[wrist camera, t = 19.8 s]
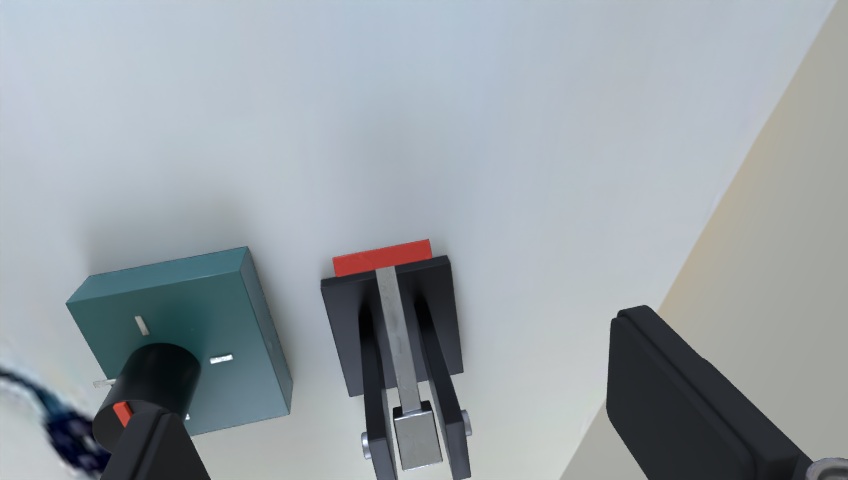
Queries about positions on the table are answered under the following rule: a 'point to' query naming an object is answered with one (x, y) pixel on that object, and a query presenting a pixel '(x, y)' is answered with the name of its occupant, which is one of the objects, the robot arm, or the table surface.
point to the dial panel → (193, 332)
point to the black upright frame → (372, 362)
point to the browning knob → (147, 389)
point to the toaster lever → (400, 350)
